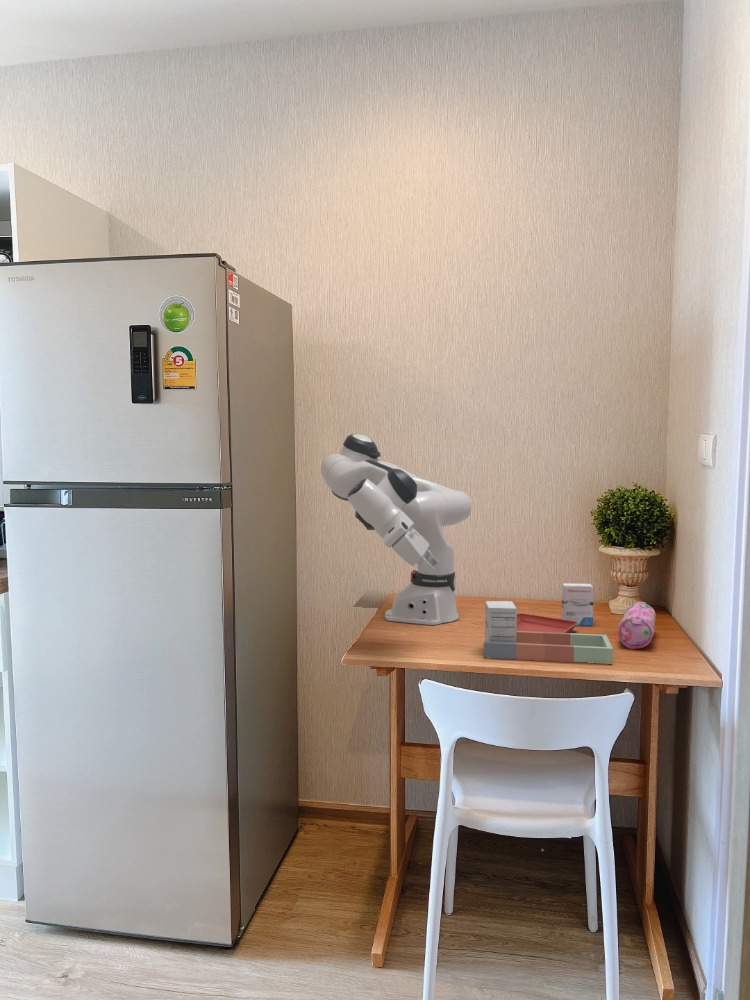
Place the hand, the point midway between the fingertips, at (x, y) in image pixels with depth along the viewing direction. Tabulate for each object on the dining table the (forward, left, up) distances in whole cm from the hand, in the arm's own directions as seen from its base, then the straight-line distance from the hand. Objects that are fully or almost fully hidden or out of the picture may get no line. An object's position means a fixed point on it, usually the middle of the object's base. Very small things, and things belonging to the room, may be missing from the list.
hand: (434, 568), depth 195 cm
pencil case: (+54, +17, -22) cm, 61 cm away
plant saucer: (+27, +18, -22) cm, 40 cm away
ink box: (+39, +31, -22) cm, 55 cm away
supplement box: (+17, 0, -22) cm, 28 cm away
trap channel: (+28, 0, -21) cm, 35 cm away
